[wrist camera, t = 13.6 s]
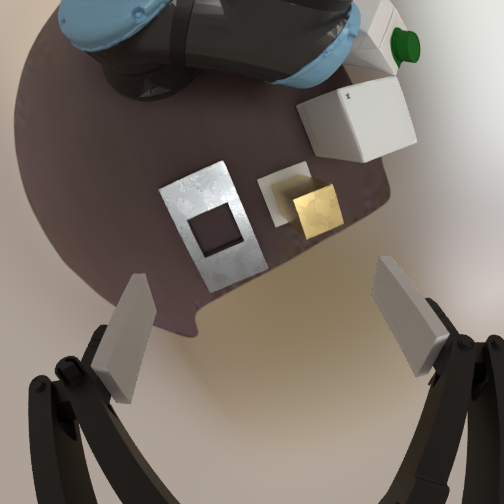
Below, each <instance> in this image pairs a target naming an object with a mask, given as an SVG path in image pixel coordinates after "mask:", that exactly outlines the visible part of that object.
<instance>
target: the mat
mask: <svg viewBox="0 0 504 504" xmlns="http://www.w3.org/2000/svg"><path fill="white" fill-rule="evenodd" d="M299 174H302V175H305V176H308V177H311V175H310V172H309V169H308V166H307V163H306V161H303V162H300V163H297V164H295V165H292V166H289V167H287V168H284V169H282V170H279V171H277V172H274V173H271V174H269V175H266V176H264V177H261V178H259V179H257V182H258V184H259V187H260V189H261V192H262V195H263V197H264V200H265V202H266V205H267V207H268V210H269V212H270V215H271V218H272V220H273V223H274V225H275V227H278V226H281V225H283V224H285V223H288V221H287V220H286V219H285V218H284V217H282V216H281V213H280V210H279V207H278V205H277V202H276V199H275V197H274V194H273V191H272V189H271V185H274V184H276V183H279V182H281V181H284V180H286V179H289V178H292V177H294V176H297V175H299Z"/></svg>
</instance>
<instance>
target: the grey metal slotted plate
mask: <svg viewBox="0 0 504 504" xmlns="http://www.w3.org/2000/svg"><path fill="white" fill-rule="evenodd" d="M159 192H160V194H161V196H162V198H163V200H164V202H165V204H166V206H167V208H168V211H169V213H170V215H171V217H172V219H173V221H174V223H175V225H176V227H177V229H178V231H179V233H180V235H181V237H182V239H183V241H184V243H185V245H186V247H187V249H188V251H189V253H190V255H191V257H192V259H193V261H194V263H195V265H196V267H197V269H198V270H199V272H200V274H201V276H202V278H203V280H204V282H205V284H206V286H207V288H208V289H209V291H210V293H212V292H214V291H217V290H219V289H222V288H224V287H226V286H229V285H231V284H233V283H236V282H238V281H241V280H243V279H245V278H248V277H250V276H252V275H255V274H257V273H259V272H262V271H264V270H266V269H269V268H268V266H267V264H266V261H265V259H264V256H263V254H262V252H261V249H260V247H259V244H258V242H257V239H256V237H255V235H254V232H253V230H252V227H251V225H250V223H249V220H248V218H247V215H246V213H245V211H244V208H243V206H242V204H241V201H240V199H239V196H238V194H237V192H236V189H235V187H234V185H233V182H232V180H231V177H230V175H229V173H228V170H227V168H226V166H225V163H224V161H223V160H221V161H219V162H216V163H214V164H212V165H209V166H207V167H205V168H203V169H200V170H198V171H196V172H194V173H191V174H189V175H187V176H185V177H183V178H181V179H178V180H176V181H174V182H172V183H170V184H168V185H166V186H164V187H162V188H160V189H159ZM226 202H228V204H229V207H230V209H231V211H232V213H233V216H234V218H235V220H236V223H237V225H238V227H239V230H240V232H241V234H242V238H240V239H238V240H235V241H233V242H231V243H228V244H226V245H224V246H221V247H219V248H217V249H215V250H212V251H210V252H208V253H204V251H203V249H202V247H201V245H200V243H199V240H198V238H197V236H196V234H195V232H194V230H193V228H192V226H191V224H190V222H189V220H188V219H190V218H192V217H194V216H197V215H199V214H201V213H203V212H206V211H208V210H210V209H212V208H215V207H217V206H219V205H222V204H224V203H226Z"/></svg>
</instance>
